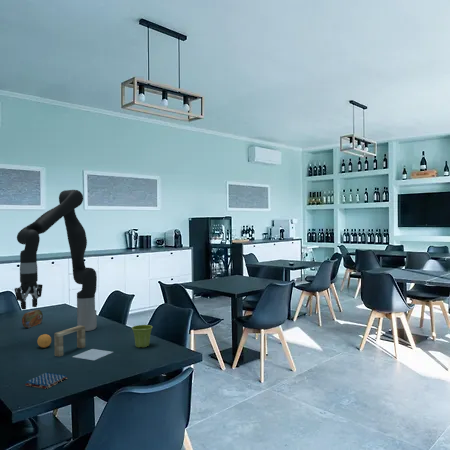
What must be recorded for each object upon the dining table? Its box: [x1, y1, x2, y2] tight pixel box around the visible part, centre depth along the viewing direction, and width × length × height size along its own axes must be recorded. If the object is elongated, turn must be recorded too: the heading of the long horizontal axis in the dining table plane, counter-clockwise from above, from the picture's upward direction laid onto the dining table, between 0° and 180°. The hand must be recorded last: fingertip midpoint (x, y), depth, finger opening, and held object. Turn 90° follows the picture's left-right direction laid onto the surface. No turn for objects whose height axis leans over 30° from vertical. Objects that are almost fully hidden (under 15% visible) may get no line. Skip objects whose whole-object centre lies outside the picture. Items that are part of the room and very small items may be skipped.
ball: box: [36, 333, 52, 348], centre depth 192 cm, size 6×6×6 cm
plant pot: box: [131, 324, 153, 348], centre depth 192 cm, size 9×9×9 cm
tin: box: [21, 309, 44, 329], centre depth 235 cm, size 15×3×8 cm, turn 168°
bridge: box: [53, 325, 86, 357], centre depth 186 cm, size 3×15×10 cm, turn 155°
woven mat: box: [24, 372, 68, 390], centre depth 149 cm, size 10×11×2 cm
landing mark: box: [72, 348, 114, 362], centre depth 180 cm, size 12×12×1 cm
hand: (29, 307), depth 196 cm, fingers open, 5 cm apart
